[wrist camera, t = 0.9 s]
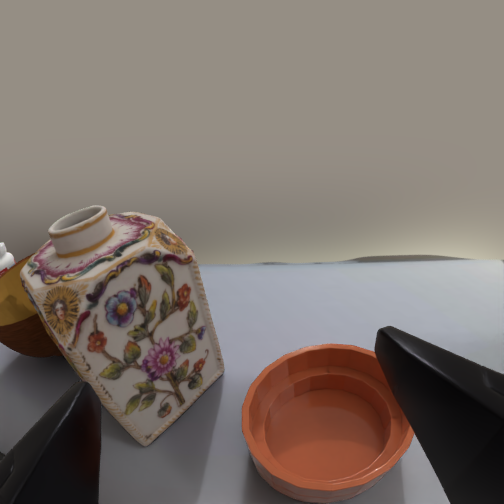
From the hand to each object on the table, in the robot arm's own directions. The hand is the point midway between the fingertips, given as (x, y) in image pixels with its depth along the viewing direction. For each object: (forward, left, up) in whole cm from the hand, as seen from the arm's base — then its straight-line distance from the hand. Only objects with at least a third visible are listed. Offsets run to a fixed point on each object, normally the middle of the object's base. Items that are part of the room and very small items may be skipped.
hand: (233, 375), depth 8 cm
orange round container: (+3, -6, -16) cm, 18 cm away
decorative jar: (+15, +7, -17) cm, 23 cm away
